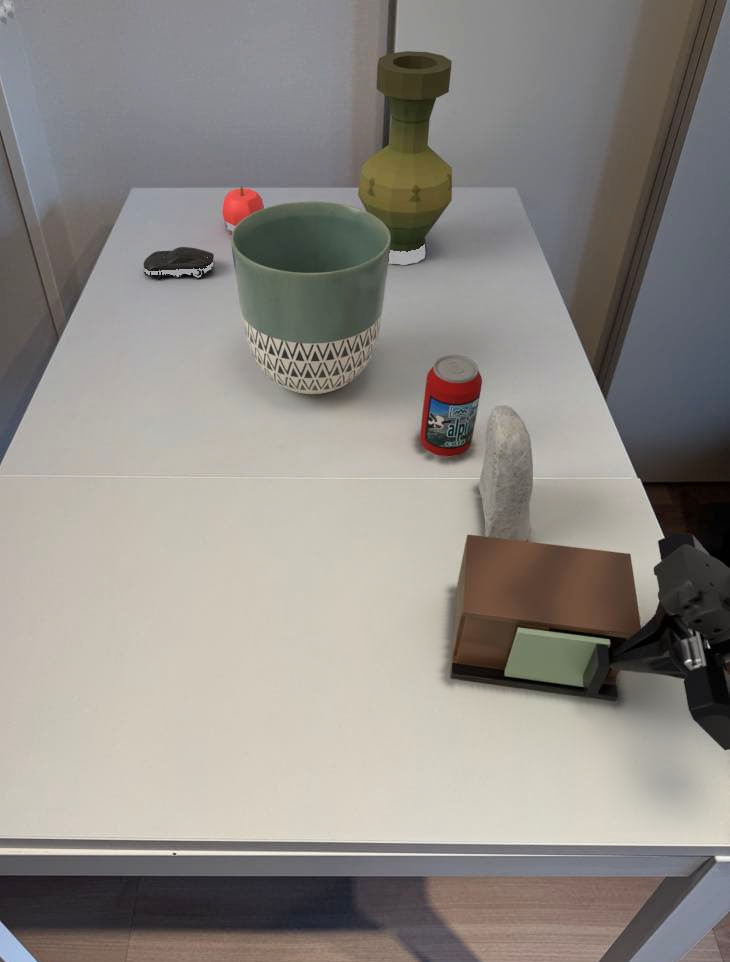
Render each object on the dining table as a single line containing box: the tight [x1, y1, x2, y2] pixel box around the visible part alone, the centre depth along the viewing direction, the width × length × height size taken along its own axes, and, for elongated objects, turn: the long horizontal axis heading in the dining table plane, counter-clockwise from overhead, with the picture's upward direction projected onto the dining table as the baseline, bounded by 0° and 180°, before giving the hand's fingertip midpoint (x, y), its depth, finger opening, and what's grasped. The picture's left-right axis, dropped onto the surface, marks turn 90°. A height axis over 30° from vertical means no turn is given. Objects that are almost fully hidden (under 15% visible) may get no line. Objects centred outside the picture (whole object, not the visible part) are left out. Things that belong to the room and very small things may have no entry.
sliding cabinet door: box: [505, 627, 610, 699], centre depth 71 cm, size 8×3×7 cm, turn 81°
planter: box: [230, 200, 391, 395], centre depth 103 cm, size 20×20×21 cm
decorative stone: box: [478, 404, 534, 542], centre depth 86 cm, size 11×6×15 cm, turn 0°
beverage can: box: [419, 354, 483, 458], centre depth 97 cm, size 7×7×12 cm
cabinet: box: [450, 534, 642, 702], centre depth 76 cm, size 16×11×9 cm
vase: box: [357, 50, 453, 252], centre depth 127 cm, size 16×16×30 cm
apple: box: [222, 186, 265, 226], centre depth 141 cm, size 8×8×8 cm
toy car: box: [143, 246, 215, 280], centre depth 131 cm, size 6×12×4 cm, turn 93°
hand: (609, 663), depth 69 cm, fingers closed, pressing on sliding cabinet door
